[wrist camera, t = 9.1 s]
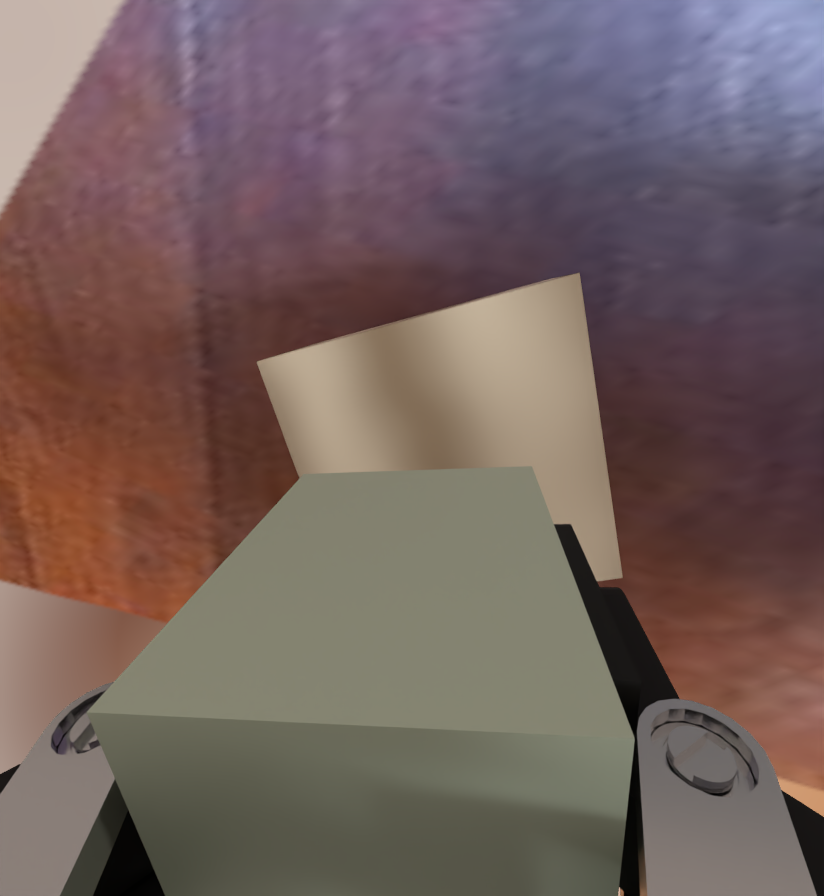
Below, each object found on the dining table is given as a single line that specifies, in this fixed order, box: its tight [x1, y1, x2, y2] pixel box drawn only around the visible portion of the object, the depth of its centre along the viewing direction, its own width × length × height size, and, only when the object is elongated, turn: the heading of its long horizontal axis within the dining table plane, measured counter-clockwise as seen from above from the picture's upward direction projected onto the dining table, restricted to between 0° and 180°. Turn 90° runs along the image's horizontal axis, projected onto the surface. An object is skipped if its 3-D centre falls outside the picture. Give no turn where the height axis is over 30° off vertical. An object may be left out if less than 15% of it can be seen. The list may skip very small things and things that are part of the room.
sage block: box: [87, 466, 635, 896], centre depth 7 cm, size 5×5×6 cm
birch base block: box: [257, 273, 623, 581], centre depth 19 cm, size 11×11×6 cm
